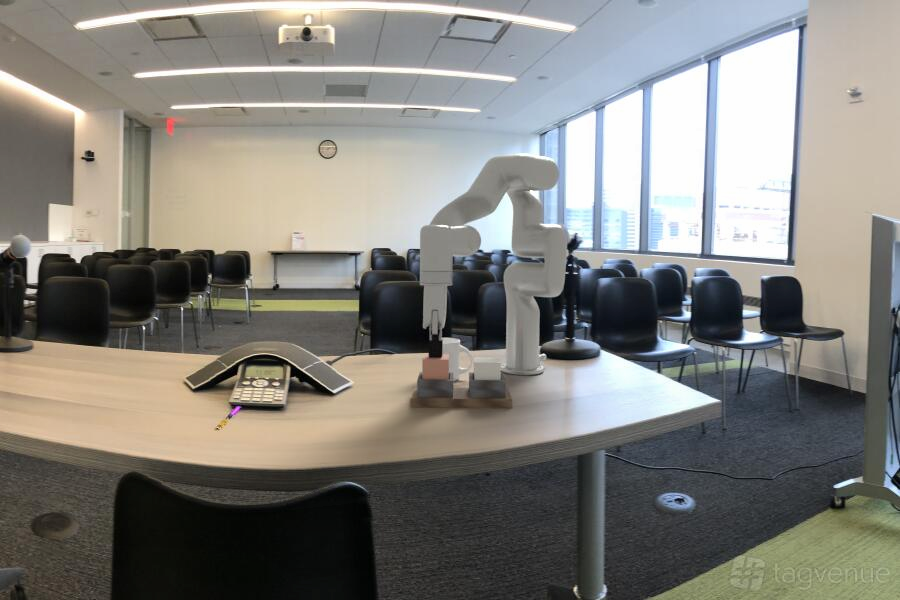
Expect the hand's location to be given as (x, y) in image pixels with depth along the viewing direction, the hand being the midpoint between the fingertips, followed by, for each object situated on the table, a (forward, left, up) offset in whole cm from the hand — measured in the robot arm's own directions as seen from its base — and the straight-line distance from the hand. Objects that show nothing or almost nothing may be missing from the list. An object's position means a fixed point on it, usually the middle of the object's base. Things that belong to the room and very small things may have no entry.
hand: (435, 356), depth 133 cm
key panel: (-4, +4, -11) cm, 12 cm away
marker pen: (+39, -22, -11) cm, 46 cm away
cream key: (-8, +9, -7) cm, 14 cm away
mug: (-18, -13, -11) cm, 25 cm away
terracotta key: (0, 0, -6) cm, 6 cm away
